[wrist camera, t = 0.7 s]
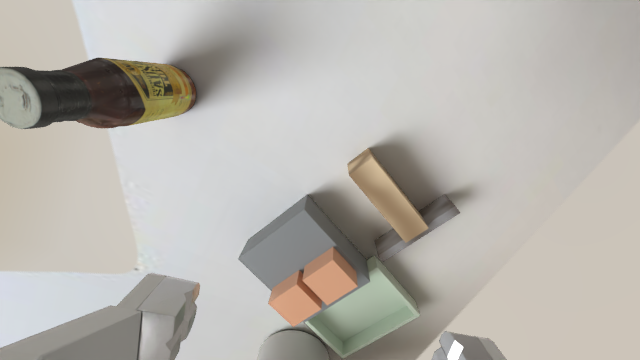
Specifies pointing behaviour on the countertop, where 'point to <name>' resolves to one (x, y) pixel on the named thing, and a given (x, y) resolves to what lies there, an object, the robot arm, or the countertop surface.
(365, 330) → the tray
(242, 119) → the countertop surface
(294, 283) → the orange block
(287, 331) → the cylinder vase
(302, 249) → the board
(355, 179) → the grey and tan blocks
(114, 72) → the sauce bottle
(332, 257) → the peach block
